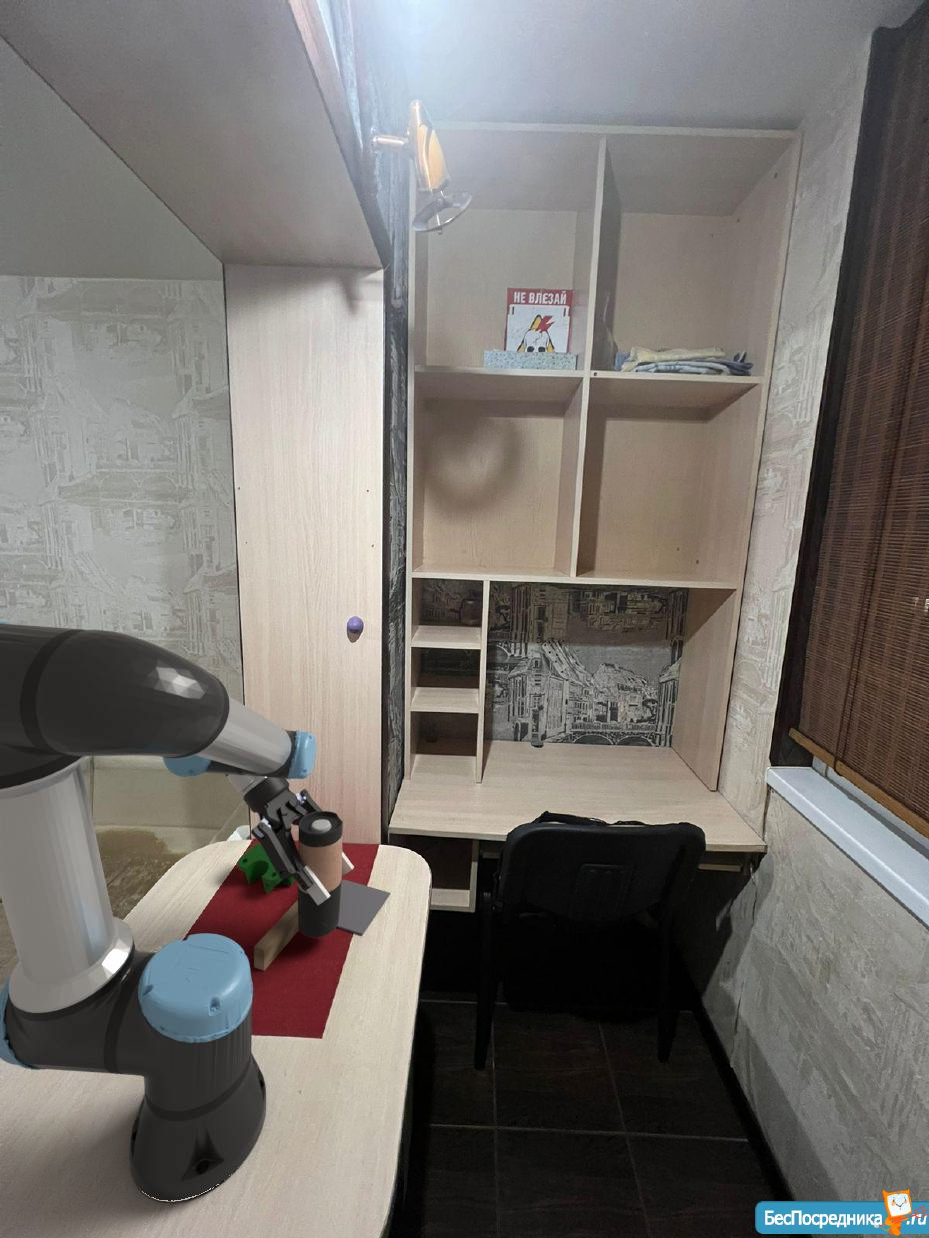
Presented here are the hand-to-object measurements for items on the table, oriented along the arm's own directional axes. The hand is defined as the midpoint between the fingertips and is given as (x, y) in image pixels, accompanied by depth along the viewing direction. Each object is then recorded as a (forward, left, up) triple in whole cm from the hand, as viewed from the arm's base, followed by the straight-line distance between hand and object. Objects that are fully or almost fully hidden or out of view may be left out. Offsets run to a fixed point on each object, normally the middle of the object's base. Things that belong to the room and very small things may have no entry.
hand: (336, 885), depth 93 cm
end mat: (+10, +2, -12) cm, 16 cm away
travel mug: (0, +3, -9) cm, 9 cm away
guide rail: (+3, +9, -12) cm, 16 cm away
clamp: (+10, +22, -12) cm, 27 cm away
